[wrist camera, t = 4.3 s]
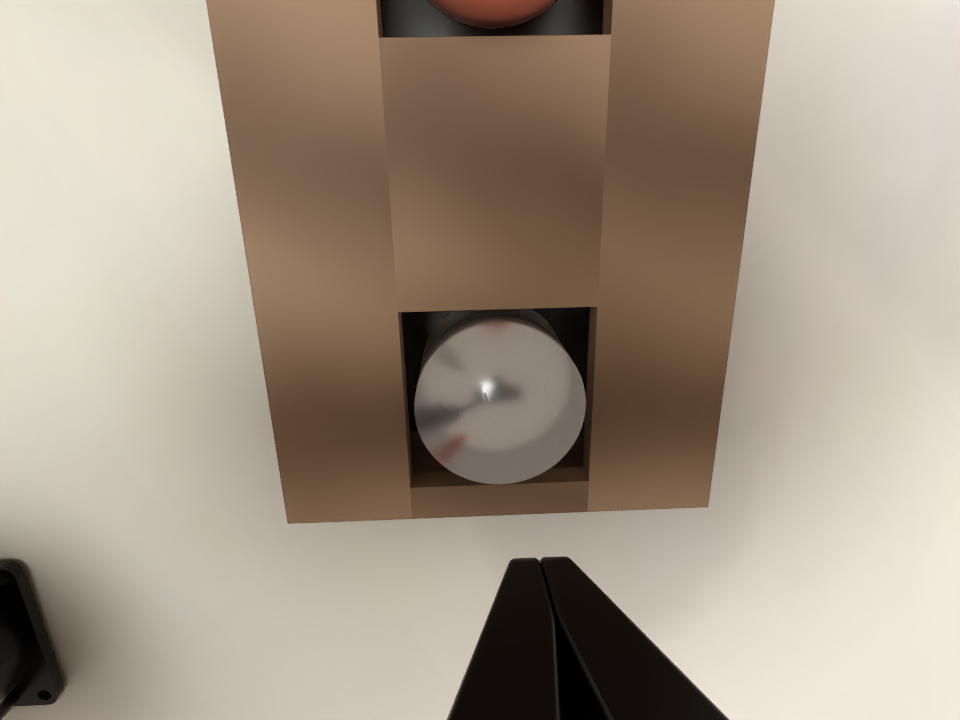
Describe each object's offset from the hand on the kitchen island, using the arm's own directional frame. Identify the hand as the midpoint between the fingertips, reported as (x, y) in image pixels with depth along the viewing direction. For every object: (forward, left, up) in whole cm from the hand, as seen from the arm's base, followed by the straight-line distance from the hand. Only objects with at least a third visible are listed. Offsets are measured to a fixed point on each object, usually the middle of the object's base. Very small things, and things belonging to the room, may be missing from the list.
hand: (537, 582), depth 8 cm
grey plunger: (0, 0, -10) cm, 10 cm away
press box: (+5, 0, -11) cm, 12 cm away
